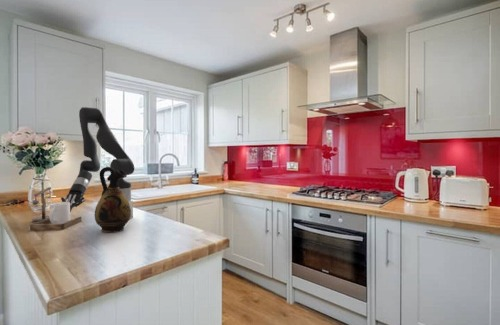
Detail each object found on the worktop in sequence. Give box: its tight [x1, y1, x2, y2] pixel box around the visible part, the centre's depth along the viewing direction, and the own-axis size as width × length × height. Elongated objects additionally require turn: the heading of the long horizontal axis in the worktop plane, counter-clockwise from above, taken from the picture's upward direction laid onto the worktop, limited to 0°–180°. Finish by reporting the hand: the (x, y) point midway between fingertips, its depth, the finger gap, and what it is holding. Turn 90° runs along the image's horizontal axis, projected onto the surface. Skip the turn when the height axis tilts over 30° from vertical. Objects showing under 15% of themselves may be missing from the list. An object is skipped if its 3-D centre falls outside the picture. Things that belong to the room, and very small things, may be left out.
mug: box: [48, 201, 71, 224], centre depth 134 cm, size 12×8×10 cm
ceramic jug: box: [94, 166, 131, 234], centre depth 124 cm, size 17×15×30 cm
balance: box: [28, 186, 57, 223], centre depth 143 cm, size 6×16×17 cm, turn 3°
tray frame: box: [29, 216, 82, 231], centre depth 132 cm, size 15×15×2 cm
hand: (66, 212), depth 141 cm, fingers closed
